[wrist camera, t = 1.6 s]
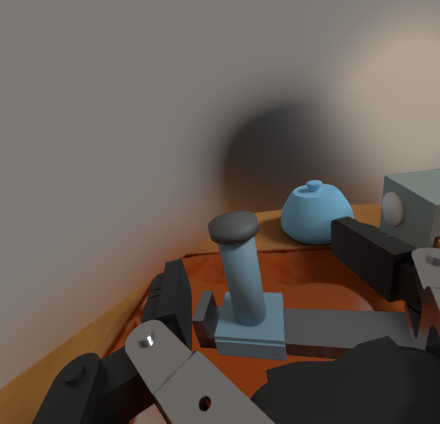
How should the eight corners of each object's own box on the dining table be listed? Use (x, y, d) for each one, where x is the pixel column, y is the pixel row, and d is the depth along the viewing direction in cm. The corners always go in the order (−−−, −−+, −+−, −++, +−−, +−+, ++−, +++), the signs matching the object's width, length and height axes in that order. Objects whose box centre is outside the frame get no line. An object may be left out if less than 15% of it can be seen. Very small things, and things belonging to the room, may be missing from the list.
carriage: (218, 354, 27) (184, 242, 20) (229, 306, 33) (206, 210, 27) (286, 360, 24) (270, 237, 18) (283, 307, 31) (271, 204, 25)
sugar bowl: (344, 213, 54) (345, 168, 49) (363, 247, 41) (367, 189, 36) (282, 217, 58) (278, 176, 54) (281, 249, 45) (275, 198, 41)
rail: (200, 347, 29) (191, 320, 27) (210, 315, 33) (202, 290, 31) (468, 370, 21) (481, 335, 19) (434, 325, 25) (442, 293, 23)
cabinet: (411, 302, 29) (429, 205, 23) (373, 250, 39) (380, 175, 34) (518, 304, 26) (566, 194, 20) (446, 247, 36) (465, 165, 31)
